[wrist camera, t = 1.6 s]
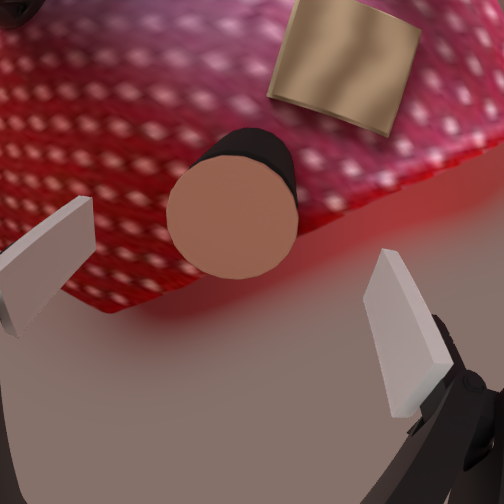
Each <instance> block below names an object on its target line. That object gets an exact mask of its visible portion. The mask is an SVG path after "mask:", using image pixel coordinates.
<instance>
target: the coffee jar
mask: <svg viewBox="0 0 504 504" xmlns="http://www.w3.org/2000/svg"><path fill="white" fill-rule="evenodd" d="M297 207H298V203H297V193H296V184H295V175H294V166H293V162H292V158H291V154H290V152H289V150H288V149H287V147H286V146H285V144H284V143H283V141H281V140H280V139H279V138H278V137H276V136H275V135H274V134H272V133H270V132H268V131H265V130H262V129H259V128H243V129H239V130H236V131H232V132H231V133H229V134H228V135H226V136H225V137H223V138H222V139H221V140H219V141H218V142H217V143H216V144H215V145H214V146H213V147H211V148H210V149H209V150H208V151H207V152H206V153H205V154H204V155H203V156H201V157H200V158H199V159H198V160H197V161H196V162H195V163H194V164H193V165H192V166H191V167H190V168H189V170H188V171H187V172H185V173H184V174H182V175H181V177H180V178H179V180H178V181H177V183H176V184H175V186H174V187H173V189H172V190H171V192H170V196H169V200H168V204H167V208H166V215H167V226H168V231H169V233H170V235H171V238H172V240H173V242H174V245H175V247H176V248H177V249H178V250H179V251H180V253H181V254H182V255H183V256H184V257H185V259H186V260H187V261H188V262H190V263H191V264H193V265H194V266H196V267H197V268H198V269H200V270H201V271H203V272H206V273H208V274H211V275H214V276H217V277H220V278H228V279H245V278H250V277H255V276H259V275H261V274H263V273H265V272H267V271H269V270H271V269H273V268H274V267H276V266H277V265H278V264H279V263H280V262H281V261H282V260H283V259H284V258H285V257H286V256H287V255H288V254H289V252H290V250H291V248H292V245H293V244H294V241H295V239H296V237H297V230H298V220H299V216H298V212H297Z"/></svg>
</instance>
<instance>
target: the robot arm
mask: <svg viewBox="0 0 504 504" xmlns="http://www.w3.org/2000/svg"><path fill="white" fill-rule="evenodd" d="M44 1H45V0H0V28H1V29H12V28H16V27H18V26H20V25H22V24H24V23H25V22H27V21H28V20H29V19H30V18H31V17H32V16H33V15H34V14H35V13H36V12H37V11H38V9H39V8H40V7H41V6H42V4H43V3H44ZM95 250H96V243H95V231H94V218H93V202H92V197H85V196H78V197H76V198H75V199H74V200H72V201H71V202H69V203H68V204H66V205H65V206H63V207H62V208H61V209H59V210H58V211H56V212H55V213H53V214H52V215H51V216H49V217H48V218H47V219H45V220H44V221H43V222H41V223H40V224H38V225H37V226H36V227H34V228H33V229H32V230H31V231H29V232H28V233H27V234H25V235H24V236H23V237H22V238H20V239H19V240H18V241H16V242H14V243H12V244H10V245H9V246H8V247H6V248H5V249H4V250H3V252H1V253H0V321H1V323H2V326H3V328H4V331H5V332H6V333H8V334H10V335H13V336H15V337H17V338H19V337H20V336H21V335H22V333H23V332H24V331H25V330H26V328H27V327H28V326H29V324H30V323H31V322H32V321H33V319H34V318H35V317H36V316H37V315H38V314H39V312H40V311H41V310H42V309H43V308H44V306H45V305H46V304H47V303H48V302H49V301H50V299H51V298H52V297H53V296H54V295H55V294H56V292H57V291H58V290H59V289H60V288H61V287H62V286H63V285H64V283H65V282H66V281H67V280H68V279H69V278H70V277H71V276H72V275H73V274H74V272H75V271H76V270H77V269H78V268H79V267H80V266H81V265H82V264H83V263H84V262H85V261H86V260H87V259H88V257H89V256H90V255H91V254H92V253H93V252H94V251H95ZM363 302H364V306H365V309H366V313H367V316H368V320H369V323H370V327H371V331H372V335H373V338H374V342H375V346H376V350H377V354H378V358H379V361H380V366H381V370H382V374H383V378H384V383H385V387H386V392H387V396H388V400H389V406H390V410H391V415H392V417H411V416H412V415H413V414H414V413H415V412H416V411H417V410H418V408H419V407H420V409H421V413H422V417H421V418H420V419H419V420H418V421H417V422H416V423H415V424H414V425H413V426H412V427H411V429H410V430H409V431H408V432H407V434H409V436H408V437H407V439H406V441H405V442H404V444H403V445H402V447H401V448H400V450H399V451H398V453H397V454H396V456H395V457H394V459H393V460H392V462H391V463H390V465H389V466H388V467H387V469H386V470H385V472H384V473H383V475H382V476H381V477H380V478H379V480H378V481H377V482H376V484H375V485H374V486H373V488H372V489H371V490H370V492H369V493H368V494H367V495H366V497H365V498H364V499H363V500H362V502H361V503H360V504H443V503H444V501H445V499H446V498H447V495H448V494H449V492H450V496H449V500H448V504H504V388H503V390H502V391H501V392H500V393H499V392H496V391H493V390H490V389H487V387H486V384H485V382H484V381H483V379H482V378H481V377H480V376H479V375H478V374H477V373H475V372H473V371H471V370H466V368H465V366H464V363H463V361H462V359H461V357H460V355H459V353H458V350H457V348H456V346H455V344H453V340H452V338H451V336H449V332H448V330H447V328H446V326H445V324H444V323H443V322H442V321H441V320H440V318H439V317H438V316H437V315H433V314H431V313H430V311H429V310H428V307H427V306H426V303H425V301H424V299H423V298H422V296H421V294H420V292H419V290H418V288H417V286H416V284H415V282H414V280H413V279H412V277H411V275H410V273H409V271H408V269H407V268H406V266H405V264H404V262H403V261H402V259H401V257H400V255H399V254H398V252H397V251H393V250H388V249H384V248H382V250H381V253H380V256H379V258H378V261H377V263H376V266H375V269H374V271H373V274H372V276H371V279H370V281H369V284H368V286H367V289H366V291H365V294H364V296H363ZM493 442H494V446H493V448H492V445H493ZM450 490H451V491H450ZM0 504H27V503H26V501H25V500H24V498H23V496H22V494H21V492H20V489H19V485H18V481H17V478H16V474H15V470H14V466H13V462H12V458H11V453H10V448H9V443H8V438H7V432H6V426H5V421H4V413H3V405H2V397H1V387H0Z"/></svg>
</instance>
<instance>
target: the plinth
mask: <svg viewBox="0 0 504 504" xmlns="http://www.w3.org/2000/svg"><path fill="white" fill-rule="evenodd" d="M421 32H422V30H421V29H419V28H417V27H415V26H413V25H411V24H409V23H407V22H405V21H403V20H400V19H398V18H396V17H394V16H392V15H390V14H387V13H385V12H383V11H380V10H378V9H376V8H373V7H371V6H368V5H366V4H363V3H360V2H358V1H355V0H295V3H294V6H293V9H292V12H291V16H290V19H289V22H288V25H287V29H286V32H285V35H284V38H283V42H282V45H281V48H280V52H279V55H278V58H277V62H276V65H275V68H274V72H273V75H272V79H271V82H270V85H269V89H268V92H267V96H266V97H270V98H274V99H277V100H281V101H284V102H288V103H291V104H295V105H298V106H301V107H304V108H308V109H311V110H314V111H317V112H320V113H323V114H326V115H329V116H332V117H335V118H337V119H340V120H343V121H346V122H348V123H351V124H354V125H357V126H359V127H362V128H364V129H367V130H370V131H372V132H375V133H377V134H379V135H382V136H384V137H387V138H388V137H389V134H390V131H391V128H392V125H393V122H394V120H395V117H396V114H397V111H398V108H399V105H400V102H401V99H402V96H403V93H404V90H405V86H406V83H407V80H408V77H409V74H410V70H411V67H412V64H413V60H414V57H415V53H416V50H417V46H418V43H419V39H420V36H421Z"/></svg>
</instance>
